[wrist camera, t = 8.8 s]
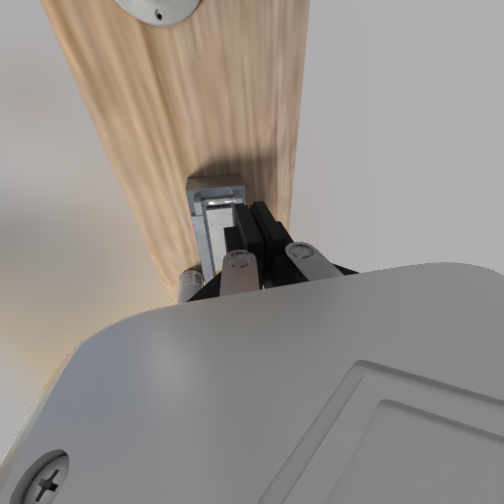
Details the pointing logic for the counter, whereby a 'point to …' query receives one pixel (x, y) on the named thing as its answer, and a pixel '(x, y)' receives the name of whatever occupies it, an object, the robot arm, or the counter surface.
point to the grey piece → (208, 196)
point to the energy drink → (189, 285)
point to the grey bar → (218, 232)
